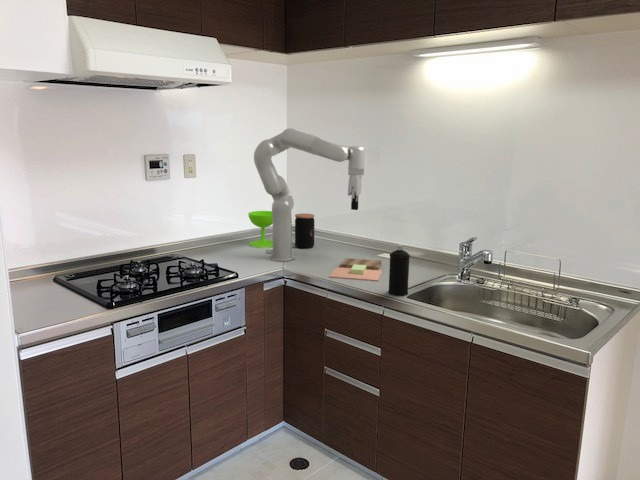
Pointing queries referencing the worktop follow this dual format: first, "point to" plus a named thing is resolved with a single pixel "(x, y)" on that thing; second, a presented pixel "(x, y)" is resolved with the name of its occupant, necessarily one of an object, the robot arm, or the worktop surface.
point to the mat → (346, 274)
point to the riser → (361, 263)
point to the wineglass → (262, 221)
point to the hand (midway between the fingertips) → (354, 209)
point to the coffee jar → (304, 231)
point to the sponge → (358, 269)
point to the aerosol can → (399, 272)
